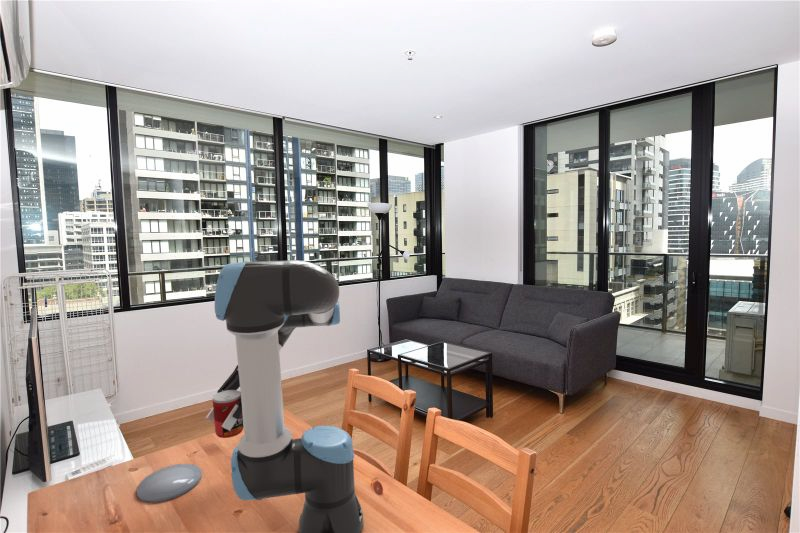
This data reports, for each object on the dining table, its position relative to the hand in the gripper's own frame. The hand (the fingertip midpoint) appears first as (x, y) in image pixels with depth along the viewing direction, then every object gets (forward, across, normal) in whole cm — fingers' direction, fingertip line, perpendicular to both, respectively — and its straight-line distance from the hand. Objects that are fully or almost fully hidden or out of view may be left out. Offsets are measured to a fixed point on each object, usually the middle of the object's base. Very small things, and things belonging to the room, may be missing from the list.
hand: (217, 424), depth 117 cm
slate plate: (+19, +10, -5) cm, 22 cm away
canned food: (0, 0, -5) cm, 5 cm away
